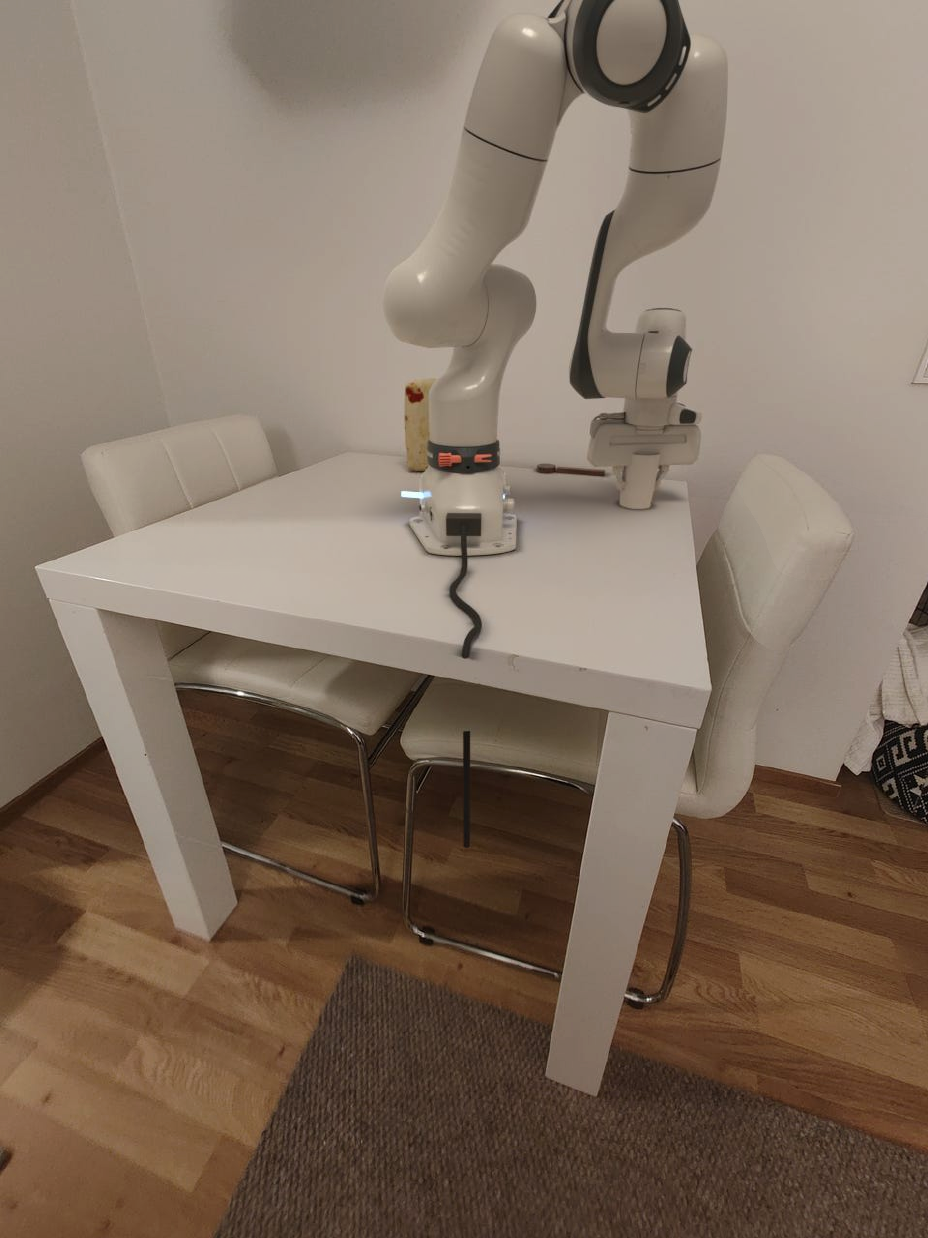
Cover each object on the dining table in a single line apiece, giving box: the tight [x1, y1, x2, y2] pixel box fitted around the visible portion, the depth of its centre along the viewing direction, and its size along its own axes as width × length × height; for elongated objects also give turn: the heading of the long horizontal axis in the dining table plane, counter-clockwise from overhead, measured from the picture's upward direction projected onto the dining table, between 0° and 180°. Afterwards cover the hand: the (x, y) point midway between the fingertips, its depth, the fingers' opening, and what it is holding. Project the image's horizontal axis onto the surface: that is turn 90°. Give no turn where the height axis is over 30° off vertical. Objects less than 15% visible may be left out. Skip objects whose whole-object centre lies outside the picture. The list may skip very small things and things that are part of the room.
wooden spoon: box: [536, 463, 606, 477], centre depth 131 cm, size 16×4×1 cm, turn 72°
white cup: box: [619, 454, 660, 510], centre depth 107 cm, size 7×7×10 cm
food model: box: [404, 378, 437, 472], centre depth 130 cm, size 10×7×20 cm
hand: (637, 488), depth 108 cm, fingers open, 5 cm apart
